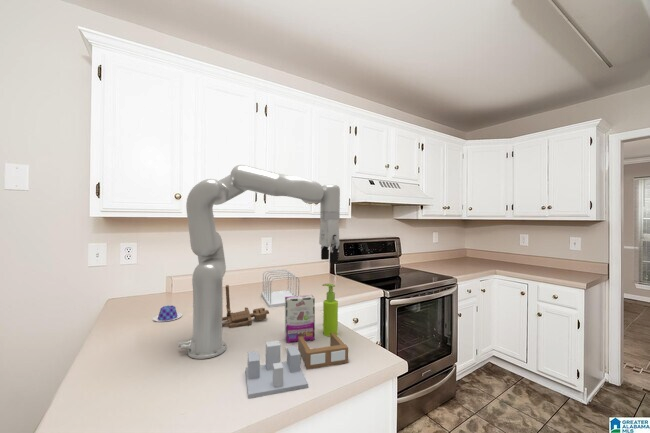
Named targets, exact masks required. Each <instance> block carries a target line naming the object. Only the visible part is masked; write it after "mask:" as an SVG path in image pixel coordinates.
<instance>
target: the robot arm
mask: <svg viewBox="0 0 650 433" xmlns="http://www.w3.org/2000/svg"><path fill="white" fill-rule="evenodd" d="M246 191H251V192H255V193H260V194H262V195H268V196H271V197H272V196H273V197H289V198H295V199H298V200H301V201H302V202H304V203H306V204H307V205H308V204H309V205H310V204H319V205H320V208H319V211H320V214H319V216H320V218H319V220H320V226H319V240H318V243H319V245H320V259H321V261H322V260H329V264H338V263H339V252H340V242H341V241H340V224H339V222H340V221H341V220H340V219H341V218H340V216H341V215H340V213H341V212H340V210H341V208H340V206H341V203H340V202H341V189H340V186H338V185H337V184H324V185H322V184H320V183H319V182H317V181H314V180H310V179H307V178H303V177H299V176H293V175H288V174H283V173H278V172H277V173H276V172H273V171H268V170H265V169H261V168H257V167H253V166H250V165H246V164H239V165H236V166H234V167H232V169H231V171H230V174H229V175H227V176H225V177H224V178H221V179H219V180H217V179H214V178H207V179H204V180H201V181H199V182H198V183H197V184H196V185H194V186H193V187H192V188H191V189H190V191H189V193H188V195H187V198H186V205H185V206H186V207H185V208H186V216H187V224H188V226H187V227H188V232H189V233H188V234H189V243H190V248H191V250H192V252H193V254H194V255H195V256H197V261H198V264H197V266H196V267H195V268H194V269H193V270H194V271H193V273H192V277H191V278H192V280H191V282H192V284H191V285H192V301H193V302H192V308H193V311H192V312H193V314H192V315H193V316H192V318H193V319H192V320H193V321H192V337H191V338H189V339H188V340H179V341H178V348H181V350H185V349H187V355H188V357H190V358H191V359H196V360H198V359H199V360H202V359H203V360H204V359H210V358H214V357H217V356H219V355H221V354H223V353H224V352H225V351H226V350H227V343H226V342H225V341H224V340H223V326H222V323H223V321H222V317H223V299H224V298H223V295H224V292H223V280H224V276H225V275H226V272H227V271H226V270H227V266H226V259H225V251H224V244H223V243H224V242H223V239H222V236H221V234H220V233H219V232H218V231H217V230H216V224H215V215H214V210H213V209H214V208H213V207H214V205H215V206H218V205H222V204H225V203H227V202H228V201H230V200H233V199H234V198H236V197H237V196H239V195H242V194H244V193H245V192H246Z"/></svg>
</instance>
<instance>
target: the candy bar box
mask: <svg viewBox="0 0 650 433" xmlns="http://www.w3.org/2000/svg"><path fill="white" fill-rule="evenodd" d="M315 310H316V308H315V296H313V295H312V294H309V295H307V294H306V295H299V296H298V295H296V296H290V297H285V306H284V340H285V343H286V344H290V343H298V337H303V338H304V340H305V342H308V341H310V342H311V341H315V338H316V337H315V335H316V334H315V332H316V331H315V330H316V327H315V326H316V325H315V322H316V320H315Z"/></svg>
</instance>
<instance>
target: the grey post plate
mask: <svg viewBox="0 0 650 433" xmlns="http://www.w3.org/2000/svg"><path fill="white" fill-rule="evenodd" d="M281 347H282V346H281V344H280V341H279V340H272V341H265V364H261V362H260V361H261V359H260V356H259V355H260V354H259V351H258V350H256V351H248V352H247V366H246V367H245V380H246V379H247V380H246V389H248V390H247V398H248V399H251V398H250V397H254V398H259V397H263V395H264V396H268V395H269V394H270V395H275V394H279V393H285V392H291V391H297V390H302V389H307V388H309V382H308V380H307V378H306V377H305V374H304V372H303V370H302V367H301V366H302V365H301V364H302V362H301V360H302V358H301V354H300V352H299V350H298V345H292V346H287V347H286V361H281ZM258 396H259V397H258Z"/></svg>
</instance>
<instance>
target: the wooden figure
mask: <svg viewBox="0 0 650 433" xmlns="http://www.w3.org/2000/svg"><path fill="white" fill-rule="evenodd" d="M225 300H226V305H225V307H226V316H224V317H223V316H222V327H224V326H228V328H229V329H232V328H236V327H239V326H243V325H244V326H245V325H248V326H252V325H253V322H252V321H253V320H252V319H254V320H255V321H261V320H265V319H267V316H268V315H269V314H270V312H269V310H268V309H265V307H259V308H254V309H253V310H252V313H251V312H250V310H249V308H248V307H247V306H246V307H244V310H241V311H240V310H239V311H237V312H232V310H231V302H230V300H231V299H230V286H229V284H226V285H225Z"/></svg>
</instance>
